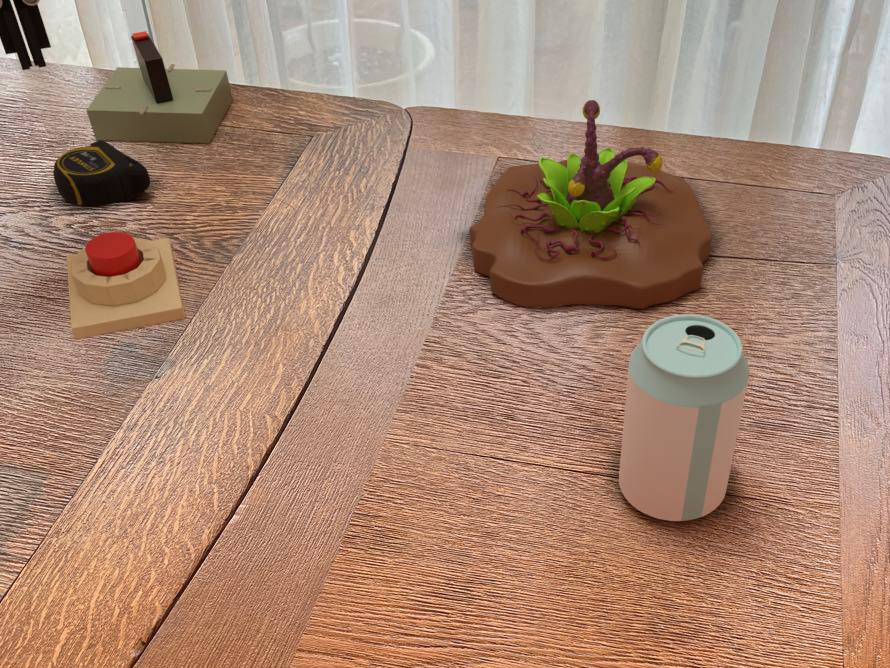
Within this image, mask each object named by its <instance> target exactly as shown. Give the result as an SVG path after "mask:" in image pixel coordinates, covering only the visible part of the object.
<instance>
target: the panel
mask: <svg viewBox="0 0 890 668" xmlns="http://www.w3.org/2000/svg"><path fill="white" fill-rule="evenodd" d="M175 66H176V64H175V63H171V64H170V65H169V66H168V68H165V70H166V74H167V78H168V81H169V85H170V89H171V93H172V96H173V100H171V101H166V102H161V103H156V101H155V99H154V97H153V96H152V94H151V92H150V90H149V88H148V86H147V84H146V83H145V81H144V79H143V77H142V73H141V70H140V67H122V66H121V67H119V66H117V67H116V68H115V69H114V71H113V72H112V74H111V75H110V76H109V78H108V79H107V81H106V82H105V83H104V84H103V86H102V87H101V89H100V90H99V92H98V93H97V94H96V96H95V97H94V99H93V100H92V101H91V103H90V104H89V105H88V107H87V108H86V109H85V110H86V114H87V117H88V121H89V123H90V125H91V128H92V132H93V135H94V137H95V140H96V141H98V140H102V141H109V142H110V141H114V142H115V141H116V142H144V143H145V142H146V143H177V144H179V143H180V144H181V143H182V144H210V143H211V141H212V140H213V138H214V136H215V134H216V132H217V131H218V128H219V127H220V124H221V122H222V121H223V119H224V117H225V115H226V114H227V112H228V109H229V108H230V106H231V104H232V102H233V101H234V99H233V95H232V89H231V86H230V80H229V77H228V71H227V70H225V69H223V70H222V69H192V68H191V69H189V68H188V69H187V68H175Z"/></svg>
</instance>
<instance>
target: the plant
mask: <svg viewBox="0 0 890 668" xmlns="http://www.w3.org/2000/svg"><path fill="white" fill-rule="evenodd" d="M600 106H601V105H600V104H599V102H597V100H595V99H590V100H587V101H586V102H584V104H583V107H582V115H583V117H584V119H586V128H587V129H586V131H585V132H584V136H585V141H584V146H585V147H584V149H583V153H584V155H583V156H582V157H580V156H579V155H578V154H576V153H574V152H572V153H570V154H568V156H567V159H564V160H561V161H556V160H553V159H550V158H546V157H540V158H539V159H538V163H528V164H521V165H512V166H509V167H508V168H507V170H505V171H504V172H503V173H502V174H501V175H499V178H498V179H497V181H496V183H495V185H493V186H492V187H491V189H490V190H489V191H488V193H487V195H486V199H485V200H486V201H485V205H484V211H483V215H482V217H481V218H480V220H478V222H476V223H474V224H473V225H471V226H469V245H470V249H472V262H473V269H474V270H475V272H477V273H479V274H481V275H483V276H486V277H489V287H490V292H491V293H492V294H494V295H495V296H498V297H499V298H501V299H502V300H504V301H507V302H509V303H511V304H515V305H517V306H521V307H525V308H531V309H532V308H533V309H535V308H536V309H537V308H538V309H539V308H540V309H543V308H544V309H545V308H556V307H564V306H573V305H597V306H598V305H599V306H620V307H626V308H631V309H637V310H639V309H640V310H641V309H646V308H649V307H651V306H655V305H662V304H666V303H669V302H673V301H675V300H677V299H679V298H680V297H682V296H684V295H686V294H688V293H692V292H696V291H698V290H700V288H702V287H701V286H702V279H703V272H704V264H703V263H704V262H706V261H707V260H709V257H710V255H711V249H712V241H713V234H712V231H711V228H710V226H709V225H708V223H707V219H706V218H705V216H704V214H703V211H702V208H701V206H700V203H699V201H698V199H697V196H696V194H695V192H694V190H693V188H692V187H691V186H690V184H689V183H688V181H687V180H686V179H685V178H683V177H681V176H677V175H674V174H671V173H669V172H666V171H663V170H662V167H663V164H664V163H663V158H662V156H661V154H660V153H659V152H657V151H655V150H653V149H652V148H649V147H646V148H645V147H643V146H642V147H628V148H627V149H625V150H622V151H620V152H619V153H618V154H616V153H615V151H614V150H613V148H612V147H606V148H604V149H602V150H600V151H598V142H597V141H598V140H597V139H598V137H597V125H596V120H597V119H598V117H599V116H600V114H601V107H600ZM636 156H641V157H643V159H644V163H645V164H640V163H636V162H635V163H634V162H629V161H628V160H627V159H629V158H632V157H636Z"/></svg>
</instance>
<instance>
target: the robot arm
mask: <svg viewBox="0 0 890 668" xmlns="http://www.w3.org/2000/svg"><path fill="white" fill-rule="evenodd" d="M12 2H13V4H12ZM39 3H40V0H0V42H1V45H2V46H3V50H4V53H5V55H13V54H16V55H17V59H18V61H19V62H20V67H21V70H22V71H27V70H31V67H32V68H33V65H34V66H35V67H38V68H45V67H47V63H46V60H45V57H44V54H43V51H42V49H43V50H44V49H50V48H52V46H51V42H50V39H49V35H48V33H47V30H46V26H45V24H44V20H43V17H42V14H41V11H40V8H39V7H40V6H39V5H38V4H39ZM13 5H14V7H13ZM14 8H15V10H14ZM15 11H16V13H15ZM16 14H17V15H16ZM17 17H18V18H17ZM18 20H19V22H18ZM19 23H20V24H19ZM20 26H21V28H20ZM21 29H22V30H21ZM22 32H23V33H22ZM23 35H24V36H23ZM24 38H25V40H24ZM25 41H26V42H25ZM26 44H27V45H26ZM28 49H29V51H28ZM29 52H30V53H29ZM30 55H31V57H30ZM31 58H32V60H31ZM32 61H33V64H32Z"/></svg>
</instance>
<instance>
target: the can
mask: <svg viewBox="0 0 890 668" xmlns="http://www.w3.org/2000/svg"><path fill="white" fill-rule="evenodd" d="M641 338H642V339H641V340H640V342H639V343H638V344H637V345H636V346H635V347H634V348H633V350H632V352H631V354H630V355H629V360H628V368H627V369H628V370H627V379H626V389H625V391H626V392H625V403H624V414H623V424H622V425H623V426H622V437H621V450H620V458H619V459H620V462H619V471H618V472H619V473H618V485H619V488H620V492H621V494H622V495H623V497H624V498H625V499H626V501H627V502H628V504H630V505H631V506H632V507H634V508H635V509H636V510H637V511H639V512H641V513H643V514H645V515H647V516H650V517H652V518H655V519H659V520H663V521H669V522H685V521H686V522H687V521H692V520H695V519H699V518H702V517H705V516H707V515H708V514H711V513H712V512H713V511H715V510H716V509H717V508H718V507H719V506H720V505H721V503H722V502H723V500H724V499H725V497H726V493H727V489H728V484H729V479H730V474H731V470H732V463H733V459H734V454H735V449H736V444H737V439H738V433H739V429H740V425H741V418H742V415H743V409H744V403H745V400H746V394H747V390H748V389H747V388H748V383H749V380H750V379H749V378H750V367H749V363H748V360H747V358H746V355H745V354H744V352H743V349H744V347H743V343H742V340H741V338H740V336H739V335H738V334H737V333H736V331H735V330H733V329H732V327H730V326H728V325H727V324H725V323H724V322H722V321H720V320H719V319H715V318H713V317H710V316H706V315H701V314H690V313H684V314H682V313H681V314H675V315H674V314H673V315H670V316H667V317H663V318H661V319H659V320H657V321H655V322H653V323H652V324H651V325H649V327H647V328H646V329H645V331H644V333H643V335H642V337H641Z"/></svg>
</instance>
